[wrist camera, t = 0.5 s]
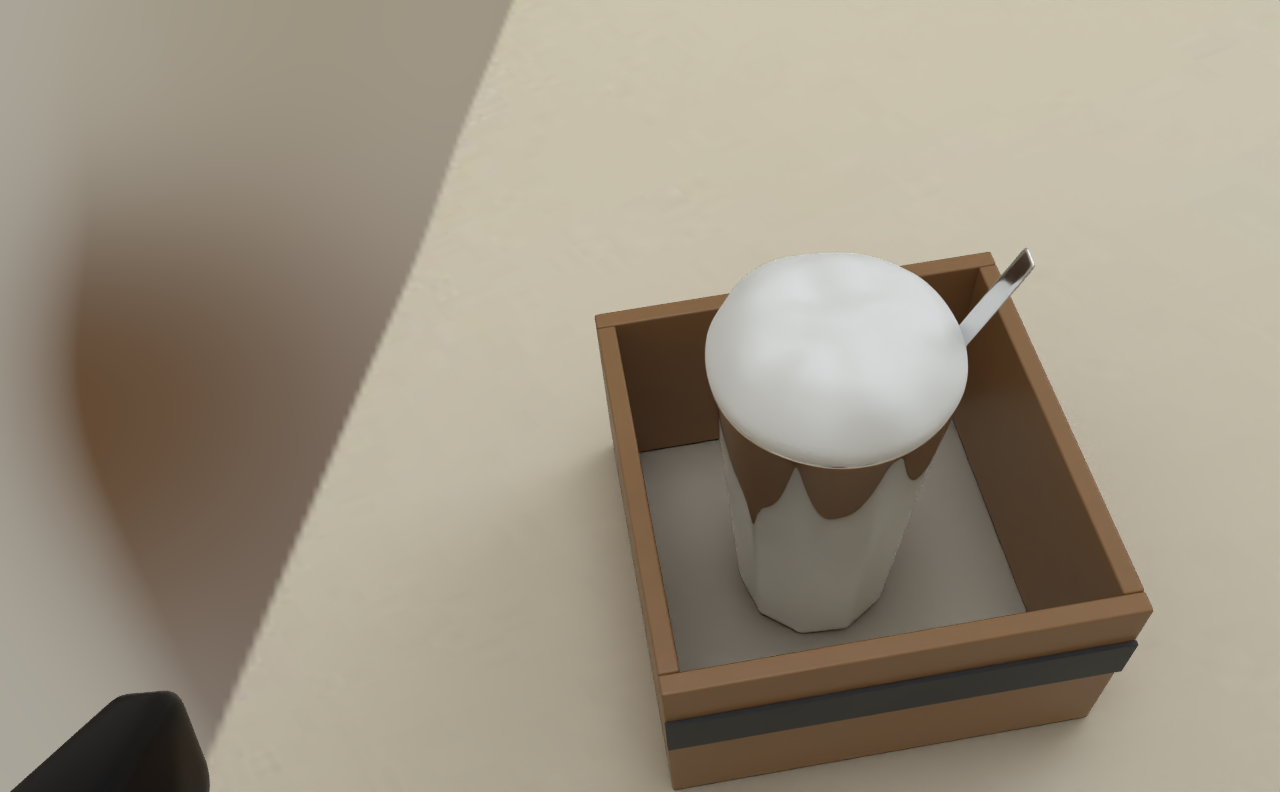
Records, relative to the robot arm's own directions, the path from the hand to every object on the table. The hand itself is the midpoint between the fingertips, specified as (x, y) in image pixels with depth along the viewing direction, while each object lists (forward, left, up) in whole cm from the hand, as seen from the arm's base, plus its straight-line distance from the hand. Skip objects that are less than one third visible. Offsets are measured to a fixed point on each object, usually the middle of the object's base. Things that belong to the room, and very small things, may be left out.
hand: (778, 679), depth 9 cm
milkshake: (+9, -4, -16) cm, 19 cm away
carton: (+9, -4, -16) cm, 19 cm away
